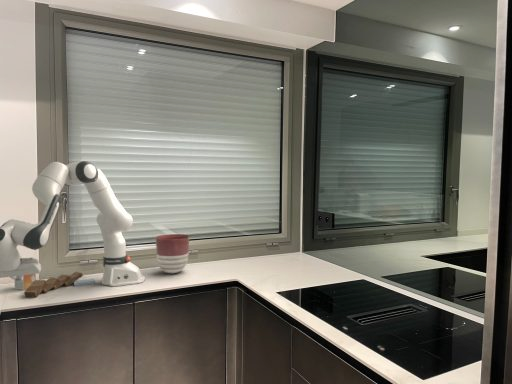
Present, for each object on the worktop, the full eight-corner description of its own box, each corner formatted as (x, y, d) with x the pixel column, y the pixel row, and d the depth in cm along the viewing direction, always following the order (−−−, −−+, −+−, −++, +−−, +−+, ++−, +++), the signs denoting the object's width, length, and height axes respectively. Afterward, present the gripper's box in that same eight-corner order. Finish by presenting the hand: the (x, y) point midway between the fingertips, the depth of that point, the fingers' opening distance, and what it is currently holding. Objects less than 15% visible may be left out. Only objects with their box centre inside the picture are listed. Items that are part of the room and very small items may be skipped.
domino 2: (44, 289, 182) (58, 277, 191) (35, 289, 183) (50, 277, 192) (45, 293, 183) (59, 281, 192) (37, 292, 184) (51, 280, 193)
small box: (23, 290, 187) (23, 269, 186) (14, 289, 188) (13, 269, 188) (36, 285, 195) (35, 265, 194) (27, 285, 196) (26, 265, 195)
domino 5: (74, 283, 194) (94, 281, 199) (73, 281, 198) (94, 278, 203) (74, 287, 194) (95, 284, 199) (73, 284, 198) (94, 282, 203)
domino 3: (53, 286, 187) (69, 275, 196) (46, 285, 189) (61, 274, 198) (55, 289, 188) (70, 278, 197) (47, 288, 190) (62, 277, 199)
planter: (186, 267, 234) (186, 233, 233) (192, 275, 216) (192, 238, 215) (154, 269, 227) (154, 235, 226) (157, 278, 209) (157, 240, 208)
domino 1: (34, 292, 175) (45, 279, 185) (24, 292, 175) (35, 279, 184) (36, 297, 176) (46, 284, 186) (25, 297, 176) (36, 285, 186)
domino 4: (65, 283, 193) (81, 272, 201) (59, 281, 195) (75, 271, 203) (67, 286, 193) (82, 275, 202) (61, 285, 196) (77, 274, 204)
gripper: (37, 251, 159) (46, 270, 168) (-17, 256, 154) (-5, 276, 163) (34, 263, 154) (44, 282, 164) (-22, 269, 150) (-9, 288, 159)
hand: (19, 279), depth 163 cm, fingers closed
